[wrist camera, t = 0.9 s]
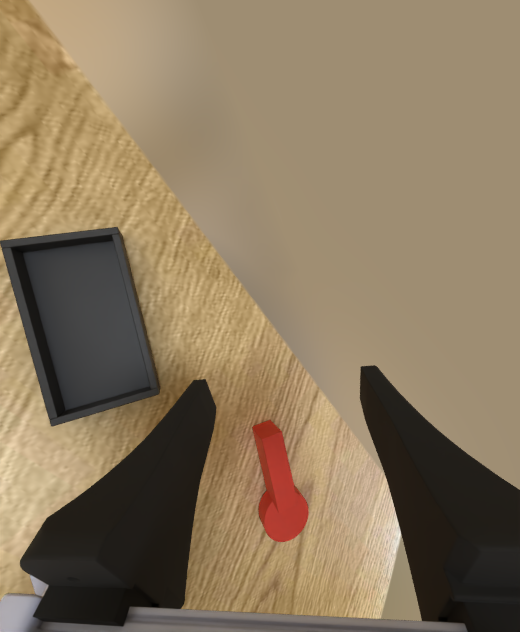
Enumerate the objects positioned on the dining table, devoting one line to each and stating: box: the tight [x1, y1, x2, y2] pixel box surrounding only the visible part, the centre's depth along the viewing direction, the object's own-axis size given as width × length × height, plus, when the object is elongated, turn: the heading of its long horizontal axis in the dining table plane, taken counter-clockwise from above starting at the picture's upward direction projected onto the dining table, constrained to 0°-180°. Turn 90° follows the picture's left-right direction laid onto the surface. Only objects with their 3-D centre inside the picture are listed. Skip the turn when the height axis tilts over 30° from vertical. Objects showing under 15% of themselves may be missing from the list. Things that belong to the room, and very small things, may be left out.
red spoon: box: [252, 420, 308, 542], centre depth 24 cm, size 10×4×3 cm, turn 13°
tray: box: [0, 227, 160, 426], centre depth 20 cm, size 13×7×2 cm, turn 13°
